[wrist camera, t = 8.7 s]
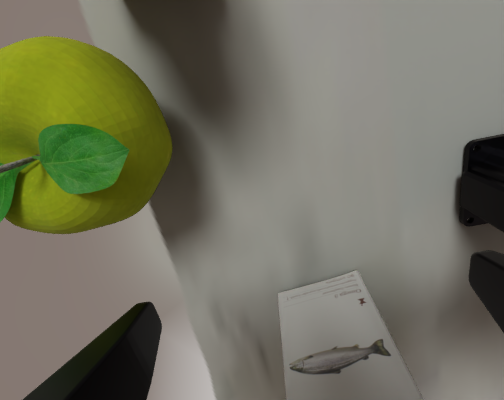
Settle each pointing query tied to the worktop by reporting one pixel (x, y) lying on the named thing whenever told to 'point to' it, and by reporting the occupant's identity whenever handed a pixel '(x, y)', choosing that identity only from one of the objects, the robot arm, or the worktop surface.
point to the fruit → (75, 137)
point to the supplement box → (339, 345)
